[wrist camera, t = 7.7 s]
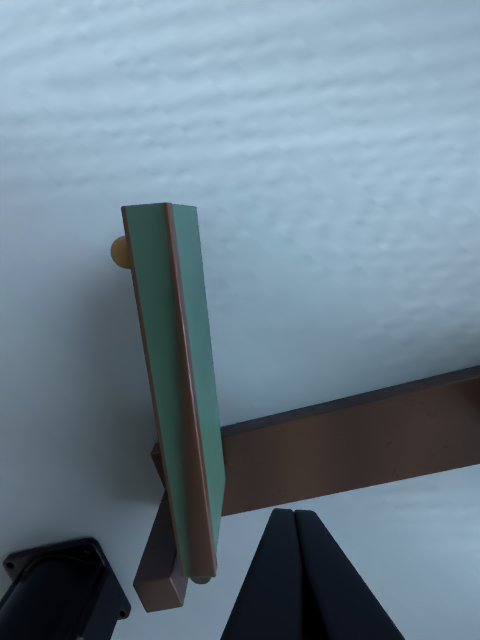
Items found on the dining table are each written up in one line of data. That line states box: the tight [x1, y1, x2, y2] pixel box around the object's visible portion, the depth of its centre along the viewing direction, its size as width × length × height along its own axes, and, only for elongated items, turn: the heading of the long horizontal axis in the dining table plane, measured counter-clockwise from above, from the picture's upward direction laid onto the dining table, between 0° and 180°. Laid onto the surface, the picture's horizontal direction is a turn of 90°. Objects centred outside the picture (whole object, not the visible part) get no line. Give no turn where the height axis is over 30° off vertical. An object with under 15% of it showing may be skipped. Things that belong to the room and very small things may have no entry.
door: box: [111, 203, 226, 584], centre depth 15 cm, size 15×3×5 cm, turn 4°
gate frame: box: [133, 366, 480, 613], centre depth 16 cm, size 20×5×7 cm, turn 107°
